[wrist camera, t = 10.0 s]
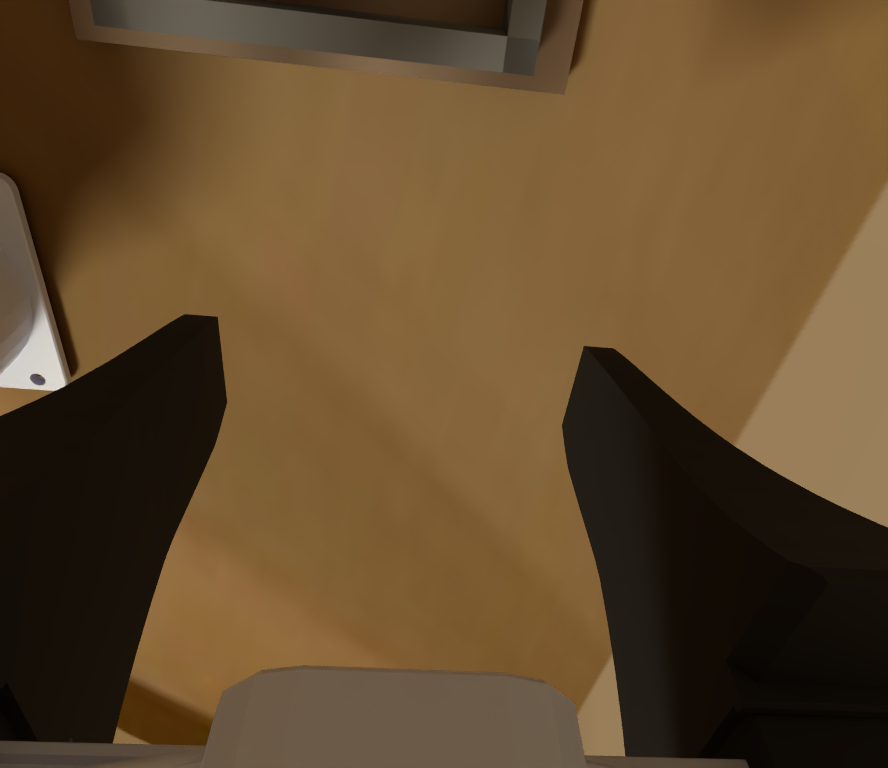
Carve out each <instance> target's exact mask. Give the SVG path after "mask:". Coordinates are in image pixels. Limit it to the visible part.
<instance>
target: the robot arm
mask: <svg viewBox="0 0 888 768" xmlns="http://www.w3.org/2000/svg"><path fill="white" fill-rule="evenodd" d="M37 374H39V375H41V376H43V377H44V379H42V378H40V377H38V376H37ZM70 381H71V375H70V372H69V368H68V365H67V361H66V357H65V354H64V350H63V347H62V343H61V340H60V336H59V333H58V329H57V326H56V322H55V318H54V315H53V311H52V308H51V304H50V301H49V297H48V294H47V290H46V287H45V283H44V279H43V276H42V272H41V269H40V265H39V262H38V258H37V255H36V251H35V247H34V244H33V240H32V237H31V233H30V230H29V226H28V223H27V219H26V216H25V212H24V208H23V205H22V201H21V198H20V194H19V191H18V188H17V186H16V184H15V182H14V181H13V180H12V179H11V178H10V177H8V176H7V175H5V174H4V173H0V387H7V388H22V389H36V390H51V391H54V392H52V393H50V394H48V395H46V396H44V397H42V398H40V399H38V400H36V401H33V402H31V403H29V404H27V405H24V406H22V407H20V408H18V409H16V410H13V411H11V412H9V413H6V414H4V415H2V416H0V768H888V528H887V527H885V526H883V525H880V524H878V523H876V522H874V521H871V520H869V519H867V518H865V517H862V516H860V515H858V514H856V513H853V512H851V511H849V510H847V509H845V508H842V507H840V506H838V505H836V504H834V503H832V502H830V501H828V500H826V499H824V498H822V497H820V496H818V495H816V494H814V493H812V492H810V491H809V490H807V489H805V488H803V487H801V486H800V485H798V484H796V483H794V482H792V481H790V480H788V479H787V478H785V477H783V476H781V475H779V474H778V473H776V472H774V471H773V470H771V469H769V468H768V467H766V466H764V465H762V464H761V463H760V462H758V461H756V460H755V459H753V458H752V457H750V456H749V455H747V454H746V453H744V452H742V451H741V450H739V449H738V448H736V447H735V446H733V445H732V444H730V443H729V442H728V441H726V440H725V439H723V438H722V437H721V436H719V435H718V434H717V433H715V432H714V431H713V430H711V429H710V428H709V427H707V426H706V425H705V424H703V423H702V422H701V421H699V420H698V419H697V418H695V417H694V416H693V415H692V414H691V413H689V412H688V411H687V410H686V409H684V408H683V407H682V406H681V405H680V404H678V403H677V402H676V401H675V400H674V399H672V398H671V397H670V396H669V395H668V394H667V393H665V392H664V391H663V390H662V389H661V388H660V387H658V386H657V385H656V384H655V383H654V382H653V381H652V380H651V379H649V378H648V377H647V376H646V375H645V374H644V373H643V372H641V371H640V370H639V369H638V368H637V367H636V366H635V365H633V364H632V363H631V362H630V361H629V360H628V359H626V358H625V357H624V356H623V355H622V354H620V353H619V352H618V351H616V350H615V349H613V348H601V347H588V346H584V348H583V351H582V355H581V359H580V362H579V366H578V369H577V373H576V377H575V380H574V384H573V388H572V391H571V395H570V398H569V402H568V406H567V409H566V413H565V416H564V420H563V424H562V429H563V437H564V445H565V452H566V458H567V464H568V469H569V473H570V476H571V480H572V483H573V487H574V490H575V494H576V497H577V500H578V504H579V507H580V510H581V514H582V517H583V520H584V524H585V527H586V530H587V534H588V537H589V540H590V544H591V547H592V550H593V554H594V557H595V561H596V565H597V569H598V573H599V577H600V582H601V588H602V593H603V599H604V604H605V610H606V615H607V621H608V627H609V634H610V640H611V647H612V653H613V660H614V666H615V672H616V680H617V688H618V696H619V704H620V712H621V719H622V727H623V737H624V747H625V756H586V755H584V750H583V745H582V740H581V736H580V730H579V725H578V719H577V714H576V709H575V704H574V702H572V701H571V700H570V699H568V698H567V697H566V696H564V695H563V694H562V693H560V692H559V691H558V690H556V689H555V688H553V687H552V686H551V685H549V684H548V683H546V682H545V681H543V680H540V679H535V678H530V677H525V676H519V675H514V674H509V673H503V672H475V671H447V670H419V669H391V668H363V667H335V666H308V665H303V666H294V667H285V668H276V669H267V670H261V671H259V672H257V673H256V674H254V675H252V676H250V677H248V678H246V679H244V680H243V681H241V682H239V683H237V684H235V685H233V686H232V687H230V688H228V689H226V690H225V691H223V692H222V695H221V698H220V701H219V704H218V707H217V710H216V712H215V716H214V719H213V723H212V727H211V730H210V734H209V738H208V742H207V745H206V746H189V745H149V744H146V745H145V744H113V740H114V735H115V731H116V727H117V723H118V719H119V715H120V711H121V707H122V704H123V700H124V696H125V693H126V689H127V685H128V681H129V678H130V674H131V670H132V667H133V663H134V659H135V656H136V652H137V649H138V645H139V642H140V638H141V635H142V632H143V628H144V625H145V622H146V618H147V615H148V612H149V608H150V605H151V601H152V598H153V595H154V592H155V589H156V586H157V583H158V580H159V577H160V573H161V570H162V567H163V564H164V561H165V558H166V555H167V553H168V550H169V548H170V545H171V543H172V540H173V538H174V535H175V533H176V531H177V529H178V526H179V524H180V522H181V520H182V518H183V515H184V513H185V511H186V509H187V506H188V504H189V502H190V500H191V498H192V495H193V493H194V491H195V489H196V487H197V484H198V482H199V480H200V478H201V476H202V473H203V471H204V469H205V467H206V464H207V462H208V460H209V458H210V455H211V453H212V451H213V448H214V446H215V443H216V440H217V437H218V433H219V430H220V427H221V423H222V419H223V415H224V412H225V408H226V404H227V397H226V388H225V380H224V371H223V362H222V353H221V344H220V335H219V326H218V317H213V316H200V315H188V314H185V315H183V316H181V317H179V318H177V319H175V320H174V321H172V322H170V323H169V324H167V325H166V326H164V327H162V328H161V329H159V330H158V331H156V332H155V333H153V334H151V335H150V336H148V337H147V338H145V339H144V340H142V341H141V342H139V343H137V344H136V345H134V346H133V347H131V348H129V349H128V350H126V351H125V352H123V353H121V354H120V355H118V356H117V357H115V358H113V359H112V360H110V361H108V362H107V363H105V364H103V365H101V366H100V367H98V368H96V369H94V370H93V371H91V372H89V373H87V374H85V375H84V376H82V377H80V378H78V379H77V380H75V381H73V382H71V383H70Z"/></svg>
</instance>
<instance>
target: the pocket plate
mask: <svg viewBox="0 0 888 768" xmlns="http://www.w3.org/2000/svg"><path fill="white" fill-rule="evenodd" d="M583 1H584V0H68V3H69V8H70V12H71V17H72V22H73V27H74V32H75V37H76V39H77V40H86V41H95V42H104V43H113V44H122V45H130V46H139V47H148V48H157V49H166V50H174V51H183V52H192V53H201V54H210V55H219V56H227V57H236V58H245V59H254V60H263V61H272V62H280V63H289V64H298V65H307V66H316V67H325V68H333V69H342V70H351V71H360V72H369V73H378V74H386V75H395V76H404V77H413V78H422V79H431V80H439V81H448V82H457V83H466V84H475V85H484V86H492V87H501V88H510V89H519V90H528V91H536V92H545V93H554V94H563V95H565V90H566V85H567V80H568V75H569V70H570V66H571V61H572V56H573V51H574V46H575V41H576V36H577V31H578V26H579V21H580V16H581V11H582V6H583Z"/></svg>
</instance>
